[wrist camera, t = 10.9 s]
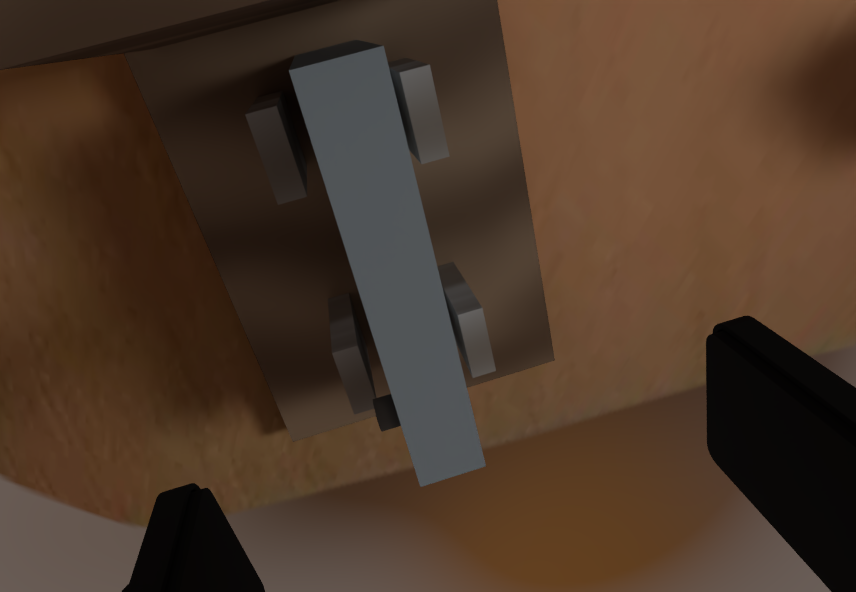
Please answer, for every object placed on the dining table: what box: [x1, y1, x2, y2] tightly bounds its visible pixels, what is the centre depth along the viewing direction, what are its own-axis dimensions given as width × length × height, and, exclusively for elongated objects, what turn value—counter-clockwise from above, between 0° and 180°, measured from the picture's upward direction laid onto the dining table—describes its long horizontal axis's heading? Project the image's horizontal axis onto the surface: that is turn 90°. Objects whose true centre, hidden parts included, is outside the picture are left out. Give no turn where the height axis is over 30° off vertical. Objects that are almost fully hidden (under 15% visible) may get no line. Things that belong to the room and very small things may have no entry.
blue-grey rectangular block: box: [289, 40, 486, 487], centre depth 21 cm, size 14×3×9 cm, turn 13°
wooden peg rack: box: [0, 0, 555, 442], centre depth 21 cm, size 20×14×14 cm
